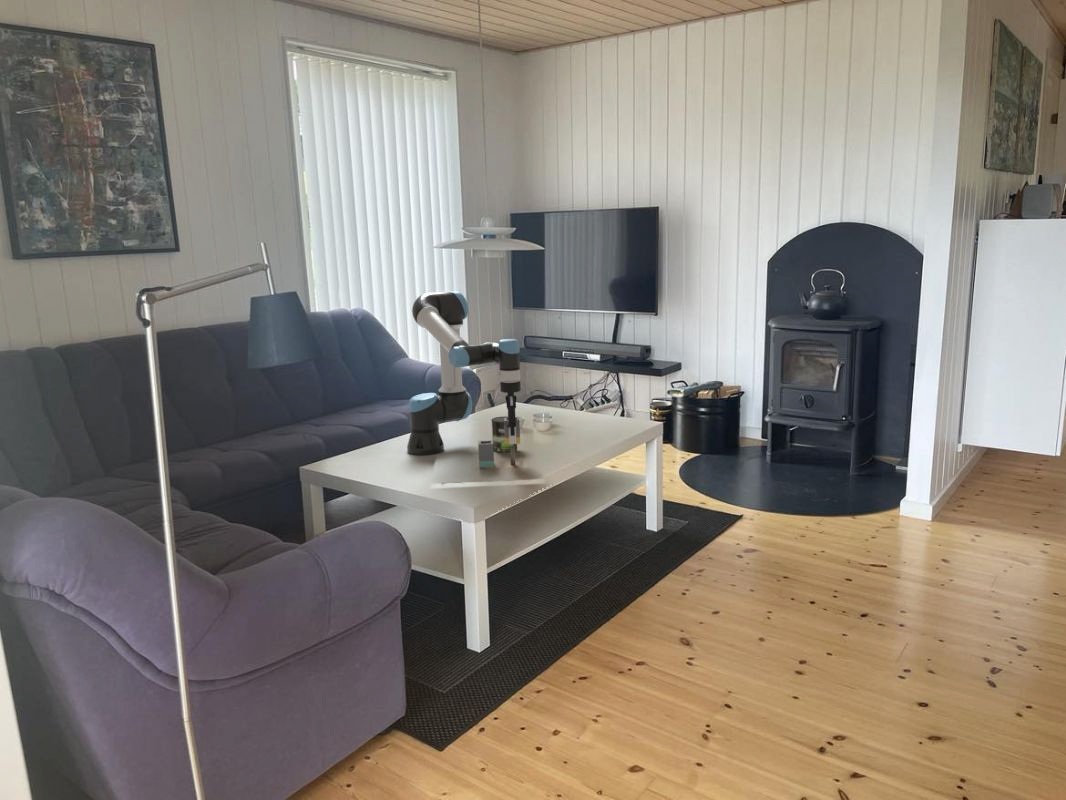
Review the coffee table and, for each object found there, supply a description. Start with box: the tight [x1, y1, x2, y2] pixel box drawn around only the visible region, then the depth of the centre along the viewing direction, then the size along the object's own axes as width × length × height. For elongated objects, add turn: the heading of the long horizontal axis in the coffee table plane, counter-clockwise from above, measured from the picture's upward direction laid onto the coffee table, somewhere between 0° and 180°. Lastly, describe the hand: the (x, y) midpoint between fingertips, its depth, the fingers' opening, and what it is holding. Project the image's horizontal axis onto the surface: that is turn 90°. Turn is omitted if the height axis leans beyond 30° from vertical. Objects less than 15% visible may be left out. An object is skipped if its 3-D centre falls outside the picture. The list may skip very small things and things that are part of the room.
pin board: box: [475, 446, 525, 471], centre depth 308 cm, size 18×10×8 cm, turn 93°
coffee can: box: [490, 416, 518, 453], centre depth 331 cm, size 10×10×14 cm
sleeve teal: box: [477, 439, 495, 468], centre depth 308 cm, size 6×6×9 cm
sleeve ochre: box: [504, 416, 521, 445], centre depth 306 cm, size 6×6×9 cm
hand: (512, 441), depth 307 cm, fingers closed on sleeve ochre, 6 cm apart
